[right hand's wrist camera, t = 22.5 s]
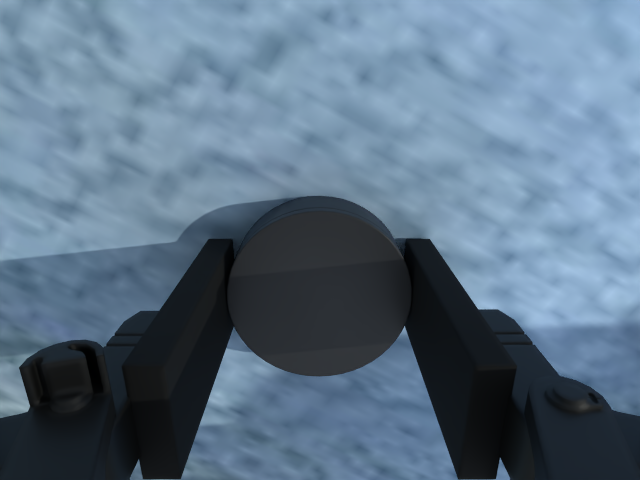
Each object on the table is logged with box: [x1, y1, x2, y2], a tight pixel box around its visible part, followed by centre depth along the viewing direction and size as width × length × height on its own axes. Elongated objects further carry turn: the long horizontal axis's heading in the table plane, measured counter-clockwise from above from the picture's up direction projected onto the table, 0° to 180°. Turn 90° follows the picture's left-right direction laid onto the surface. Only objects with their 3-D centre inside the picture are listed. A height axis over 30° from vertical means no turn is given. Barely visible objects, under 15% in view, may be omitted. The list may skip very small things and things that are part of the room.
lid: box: [227, 196, 412, 376], centre depth 14 cm, size 6×6×2 cm
